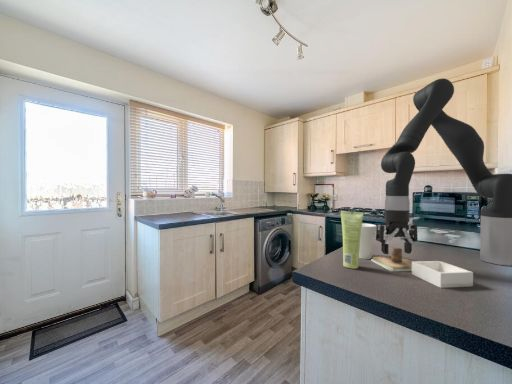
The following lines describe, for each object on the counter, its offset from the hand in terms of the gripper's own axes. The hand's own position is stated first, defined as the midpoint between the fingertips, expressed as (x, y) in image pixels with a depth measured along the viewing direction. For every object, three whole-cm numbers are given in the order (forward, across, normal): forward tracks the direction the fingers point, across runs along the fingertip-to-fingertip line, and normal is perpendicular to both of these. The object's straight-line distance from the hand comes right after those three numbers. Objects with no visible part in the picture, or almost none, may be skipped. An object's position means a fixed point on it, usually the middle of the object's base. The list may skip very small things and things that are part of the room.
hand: (396, 253), depth 79 cm
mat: (+4, 0, 0) cm, 4 cm away
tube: (+4, +17, 0) cm, 18 cm away
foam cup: (+4, +6, -11) cm, 13 cm away
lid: (+4, 0, 0) cm, 4 cm away
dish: (+4, -4, +13) cm, 14 cm away
